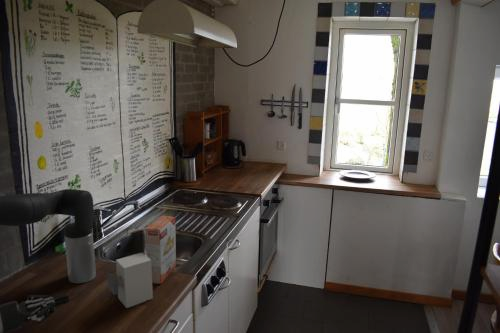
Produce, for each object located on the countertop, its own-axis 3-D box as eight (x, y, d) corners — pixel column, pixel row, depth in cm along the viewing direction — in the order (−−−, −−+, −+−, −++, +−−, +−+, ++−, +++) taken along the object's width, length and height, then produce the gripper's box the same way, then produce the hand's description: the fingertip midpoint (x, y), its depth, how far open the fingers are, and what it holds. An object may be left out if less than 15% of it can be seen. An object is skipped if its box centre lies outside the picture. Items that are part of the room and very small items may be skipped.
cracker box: (162, 285, 136) (160, 230, 131) (146, 283, 137) (144, 228, 132) (177, 266, 149) (176, 216, 144) (162, 265, 150) (161, 214, 146)
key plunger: (108, 288, 123) (107, 274, 122) (130, 280, 128) (129, 267, 127) (114, 295, 119) (113, 280, 118) (136, 287, 124) (136, 273, 123)
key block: (118, 298, 127) (115, 259, 124) (143, 289, 133) (142, 252, 130) (126, 308, 122) (124, 268, 119) (152, 298, 127) (151, 259, 124)
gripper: (0, 319, 96) (73, 296, 107) (-7, 296, 106) (60, 277, 117) (4, 345, 98) (75, 319, 109) (-4, 320, 108) (63, 299, 118)
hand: (67, 297), depth 113 cm, fingers closed
